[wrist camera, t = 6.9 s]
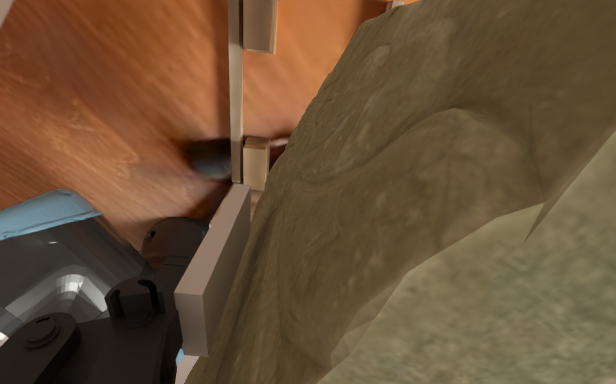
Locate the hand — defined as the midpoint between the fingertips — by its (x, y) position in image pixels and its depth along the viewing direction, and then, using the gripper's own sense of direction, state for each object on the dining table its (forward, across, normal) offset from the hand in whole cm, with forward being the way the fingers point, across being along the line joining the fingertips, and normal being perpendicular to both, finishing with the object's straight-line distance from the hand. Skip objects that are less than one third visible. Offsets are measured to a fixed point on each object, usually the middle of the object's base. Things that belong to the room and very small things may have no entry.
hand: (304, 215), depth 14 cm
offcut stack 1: (+27, -6, +9) cm, 30 cm away
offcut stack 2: (+27, -7, -9) cm, 30 cm away
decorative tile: (+11, +1, 0) cm, 11 cm away
